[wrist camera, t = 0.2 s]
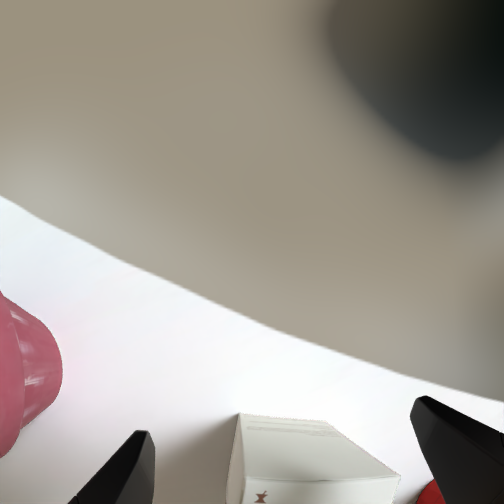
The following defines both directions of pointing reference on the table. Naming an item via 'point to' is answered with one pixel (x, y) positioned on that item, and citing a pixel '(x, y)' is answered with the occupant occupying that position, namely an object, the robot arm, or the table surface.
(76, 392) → the table surface
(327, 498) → the supplement box
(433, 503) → the plastic cup
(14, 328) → the plant pot
